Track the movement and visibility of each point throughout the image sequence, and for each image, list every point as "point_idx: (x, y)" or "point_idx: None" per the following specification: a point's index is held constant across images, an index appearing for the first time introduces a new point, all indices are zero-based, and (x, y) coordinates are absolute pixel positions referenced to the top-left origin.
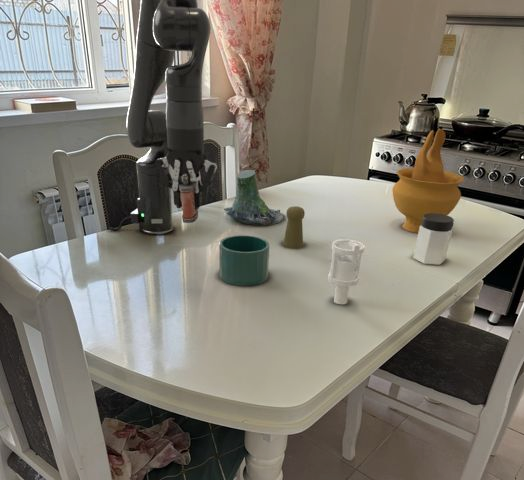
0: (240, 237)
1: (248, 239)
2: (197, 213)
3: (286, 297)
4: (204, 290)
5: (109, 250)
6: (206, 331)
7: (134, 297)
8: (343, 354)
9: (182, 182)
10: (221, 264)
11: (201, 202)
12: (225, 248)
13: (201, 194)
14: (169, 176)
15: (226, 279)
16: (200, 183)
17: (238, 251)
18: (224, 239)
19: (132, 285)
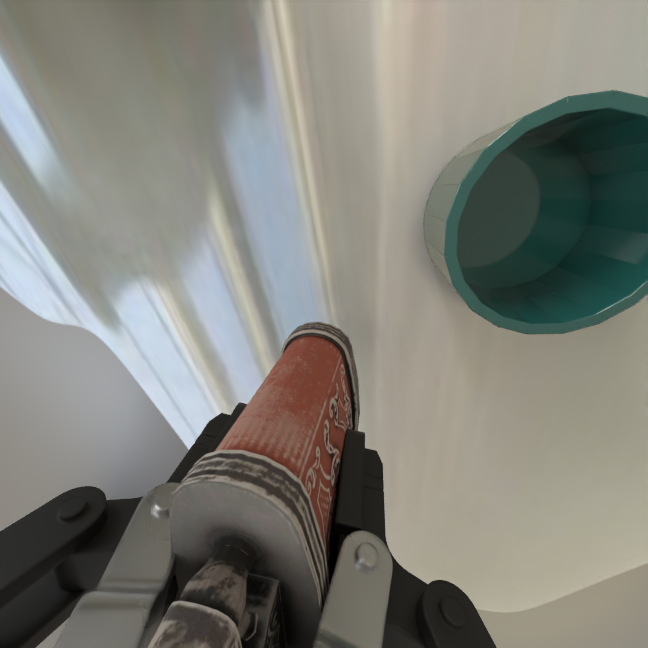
0: (564, 115)
1: (605, 114)
2: (356, 422)
3: (606, 353)
4: (381, 324)
5: (27, 42)
6: (394, 477)
7: (232, 363)
8: (637, 547)
9: (190, 573)
10: (437, 264)
11: (381, 474)
12: (467, 297)
13: (384, 526)
14: (15, 586)
15: (444, 277)
16: (379, 632)
17: (518, 323)
18: (472, 185)
19: (206, 307)
